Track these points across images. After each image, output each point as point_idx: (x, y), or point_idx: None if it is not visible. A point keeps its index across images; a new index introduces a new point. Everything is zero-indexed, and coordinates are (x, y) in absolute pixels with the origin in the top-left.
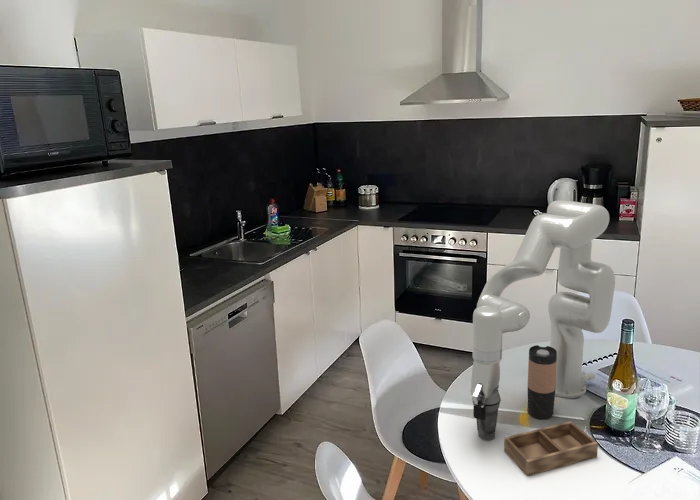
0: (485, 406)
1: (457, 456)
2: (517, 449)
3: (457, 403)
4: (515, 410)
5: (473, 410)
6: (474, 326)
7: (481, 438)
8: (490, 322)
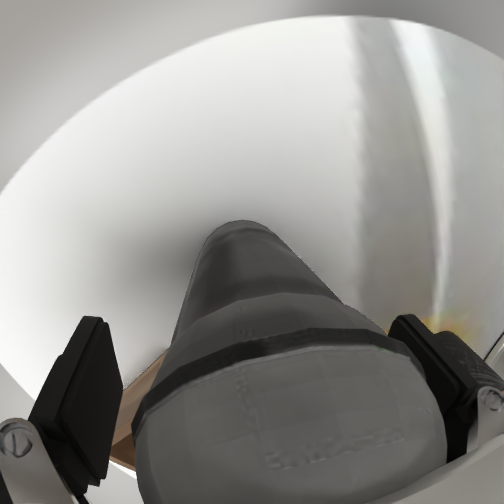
0: (95, 485)
1: (35, 197)
2: (121, 432)
3: (437, 70)
4: (439, 300)
5: (61, 356)
6: None
7: (202, 248)
8: None
